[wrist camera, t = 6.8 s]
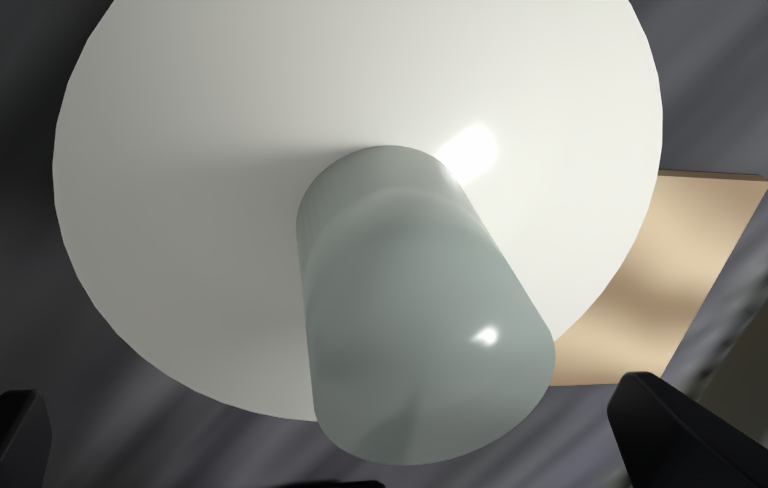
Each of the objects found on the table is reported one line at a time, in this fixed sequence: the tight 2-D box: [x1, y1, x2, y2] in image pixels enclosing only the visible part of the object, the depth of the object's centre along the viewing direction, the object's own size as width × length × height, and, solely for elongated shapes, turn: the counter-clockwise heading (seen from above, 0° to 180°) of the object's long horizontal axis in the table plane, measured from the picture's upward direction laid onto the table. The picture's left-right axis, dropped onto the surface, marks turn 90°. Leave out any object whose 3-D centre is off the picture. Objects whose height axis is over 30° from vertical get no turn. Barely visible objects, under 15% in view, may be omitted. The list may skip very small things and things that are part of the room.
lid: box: [52, 0, 662, 465], centre depth 9 cm, size 11×11×5 cm
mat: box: [549, 170, 768, 386], centre depth 26 cm, size 12×12×1 cm
